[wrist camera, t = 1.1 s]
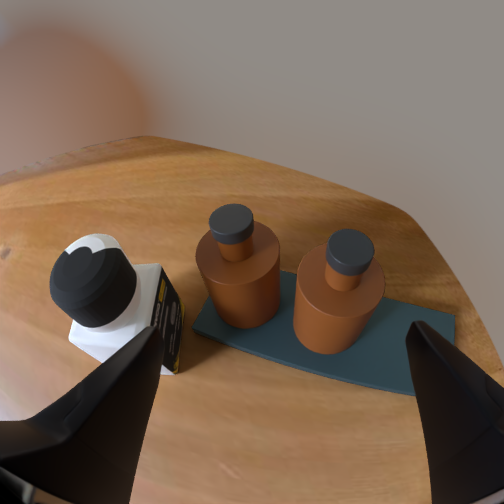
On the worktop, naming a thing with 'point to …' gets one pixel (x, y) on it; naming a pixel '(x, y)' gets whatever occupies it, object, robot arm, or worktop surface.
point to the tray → (341, 364)
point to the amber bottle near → (337, 292)
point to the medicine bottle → (115, 299)
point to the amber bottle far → (240, 267)
